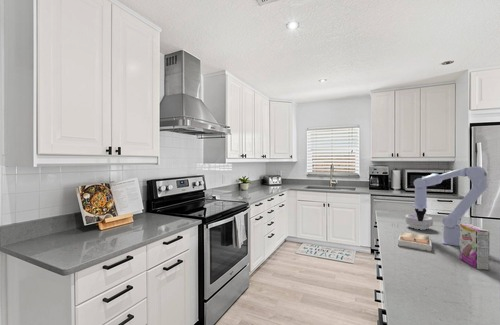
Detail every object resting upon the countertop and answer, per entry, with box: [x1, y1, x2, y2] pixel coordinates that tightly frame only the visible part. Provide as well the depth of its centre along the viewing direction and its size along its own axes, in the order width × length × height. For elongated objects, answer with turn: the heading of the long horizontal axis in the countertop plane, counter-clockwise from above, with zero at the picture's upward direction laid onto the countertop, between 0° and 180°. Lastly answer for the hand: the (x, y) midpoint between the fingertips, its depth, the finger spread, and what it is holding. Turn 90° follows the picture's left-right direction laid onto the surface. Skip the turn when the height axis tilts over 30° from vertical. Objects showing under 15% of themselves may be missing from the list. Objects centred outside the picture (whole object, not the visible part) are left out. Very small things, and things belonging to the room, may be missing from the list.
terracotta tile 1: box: [416, 239, 428, 245], centre depth 129 cm, size 5×5×2 cm
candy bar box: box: [459, 223, 490, 271], centre depth 105 cm, size 11×5×16 cm, turn 168°
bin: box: [397, 234, 433, 252], centre depth 129 cm, size 14×12×3 cm
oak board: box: [400, 231, 430, 243], centre depth 138 cm, size 13×11×2 cm
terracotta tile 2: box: [403, 237, 414, 242], centre depth 132 cm, size 5×5×2 cm
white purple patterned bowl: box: [404, 213, 434, 231], centre depth 163 cm, size 15×15×8 cm
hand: (420, 221), depth 144 cm, fingers closed
